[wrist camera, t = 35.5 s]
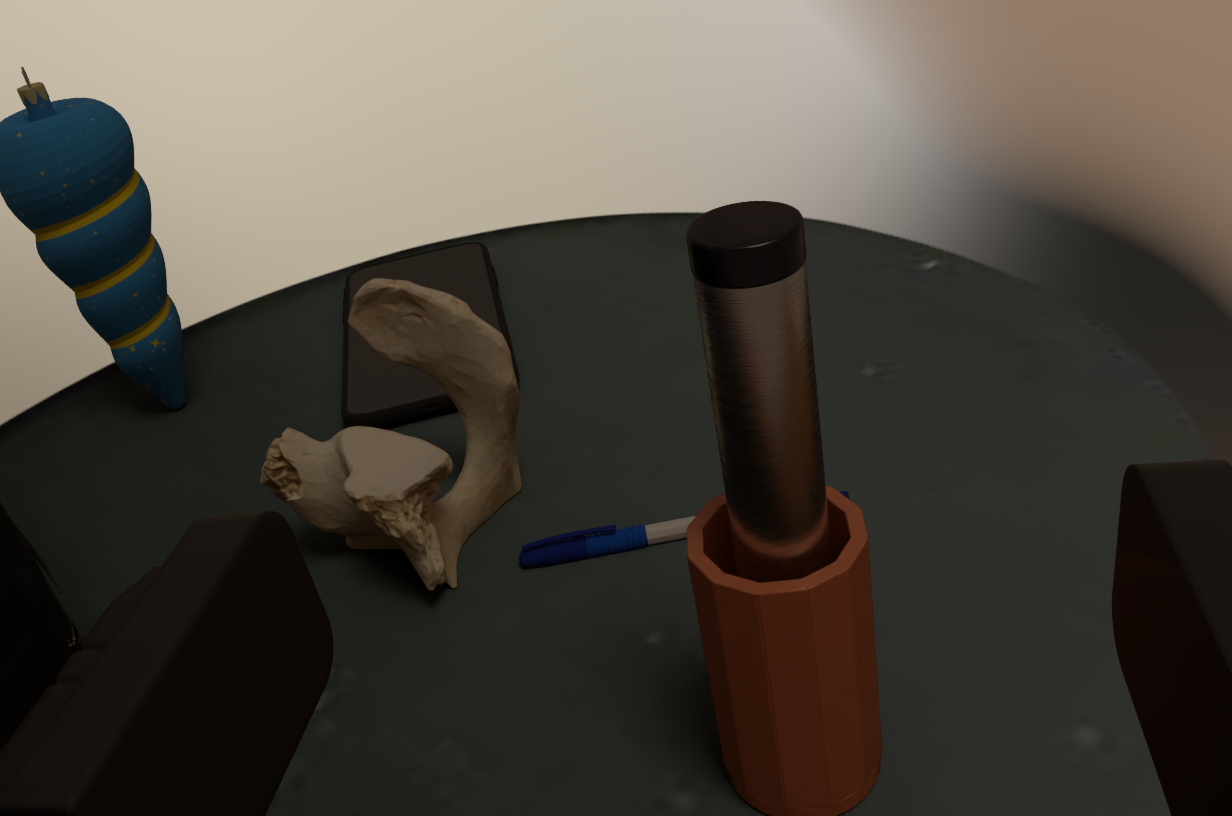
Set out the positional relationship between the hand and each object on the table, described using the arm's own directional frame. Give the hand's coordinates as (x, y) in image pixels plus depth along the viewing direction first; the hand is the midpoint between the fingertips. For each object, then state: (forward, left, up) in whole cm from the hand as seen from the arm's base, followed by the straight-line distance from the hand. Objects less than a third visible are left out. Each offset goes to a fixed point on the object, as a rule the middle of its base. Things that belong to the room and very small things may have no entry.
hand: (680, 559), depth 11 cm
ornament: (-5, +39, -15) cm, 42 cm away
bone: (+1, +22, -15) cm, 27 cm away
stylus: (+6, +8, -14) cm, 17 cm away
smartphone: (+6, +37, -15) cm, 40 cm away
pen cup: (+6, +8, -15) cm, 18 cm away
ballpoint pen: (+8, +17, -15) cm, 24 cm away
